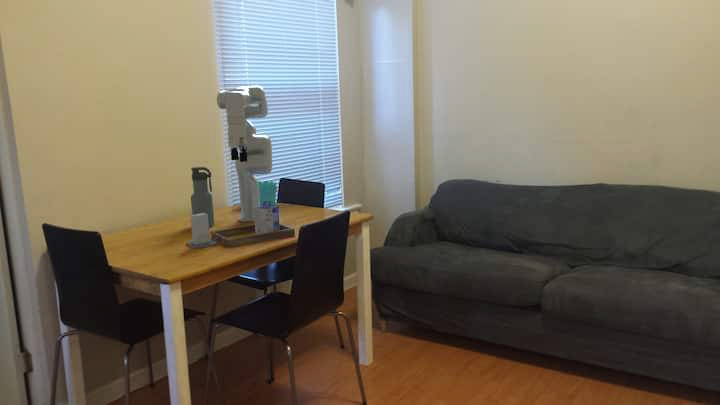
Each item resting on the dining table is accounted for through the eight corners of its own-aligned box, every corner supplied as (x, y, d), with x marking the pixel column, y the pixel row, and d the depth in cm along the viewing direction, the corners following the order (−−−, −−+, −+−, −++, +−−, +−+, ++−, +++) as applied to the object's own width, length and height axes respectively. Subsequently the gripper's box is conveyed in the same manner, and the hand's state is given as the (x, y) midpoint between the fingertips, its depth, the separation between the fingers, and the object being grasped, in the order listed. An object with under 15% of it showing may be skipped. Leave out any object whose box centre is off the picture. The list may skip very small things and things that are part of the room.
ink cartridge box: (281, 233, 260) (278, 201, 257) (274, 236, 255) (271, 203, 252) (262, 232, 264) (259, 200, 261) (255, 235, 259) (252, 202, 256)
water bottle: (214, 222, 288) (209, 165, 283) (216, 226, 279) (211, 167, 273) (193, 224, 285) (187, 167, 280) (193, 229, 276) (188, 169, 270)
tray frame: (211, 238, 256) (211, 231, 256) (275, 227, 272) (274, 221, 272) (228, 247, 240) (227, 240, 239) (294, 235, 256) (294, 228, 255)
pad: (186, 244, 247) (185, 242, 247) (209, 240, 253) (209, 238, 252) (193, 249, 239) (193, 247, 239) (217, 245, 244) (217, 243, 244)
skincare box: (205, 240, 249) (202, 212, 247) (210, 242, 246) (208, 213, 244) (192, 243, 245) (189, 214, 243) (197, 245, 242) (194, 216, 240)
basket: (237, 210, 317) (235, 186, 315) (249, 203, 335) (247, 181, 332) (272, 209, 314) (270, 185, 312) (282, 203, 332) (280, 180, 329)
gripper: (220, 121, 259) (224, 160, 262) (235, 122, 245) (238, 163, 248) (237, 120, 263) (240, 158, 266) (252, 121, 249) (255, 161, 252)
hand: (239, 160), depth 257 cm, fingers open, 9 cm apart
